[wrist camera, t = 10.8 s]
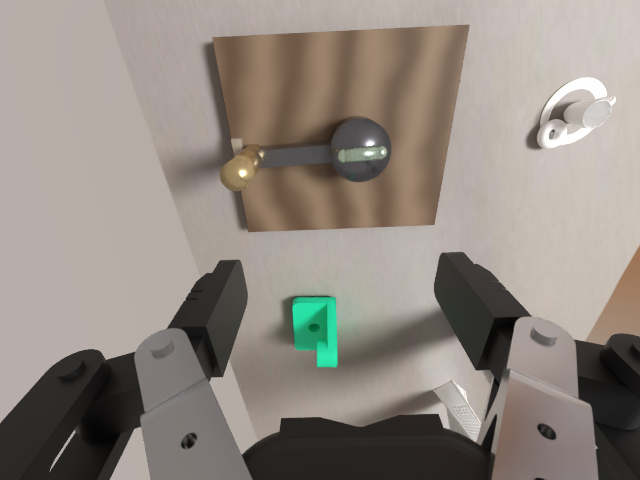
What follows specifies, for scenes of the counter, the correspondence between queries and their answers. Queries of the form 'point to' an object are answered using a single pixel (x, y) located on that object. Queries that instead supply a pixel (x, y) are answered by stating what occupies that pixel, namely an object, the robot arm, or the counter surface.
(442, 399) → the skyscraper
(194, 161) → the counter surface
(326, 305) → the camera mount
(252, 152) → the crank handle
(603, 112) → the teacup and saucer
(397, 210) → the walnut base
